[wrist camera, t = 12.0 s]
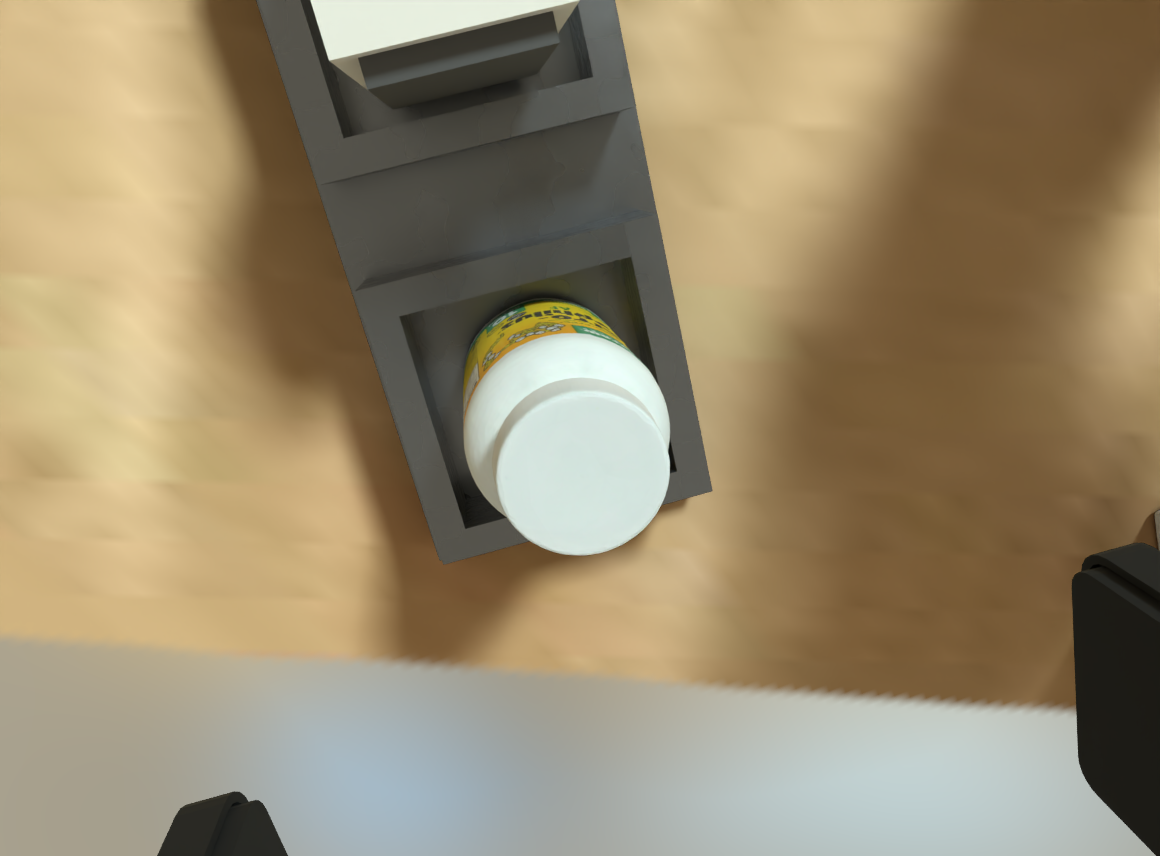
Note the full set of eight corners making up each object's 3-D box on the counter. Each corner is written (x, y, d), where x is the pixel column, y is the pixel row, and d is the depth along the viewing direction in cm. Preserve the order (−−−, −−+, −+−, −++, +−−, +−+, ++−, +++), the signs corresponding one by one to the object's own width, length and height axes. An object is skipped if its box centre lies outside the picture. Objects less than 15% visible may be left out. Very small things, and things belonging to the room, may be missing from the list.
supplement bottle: (455, 443, 28) (449, 576, 19) (472, 284, 26) (473, 345, 17) (611, 457, 29) (677, 592, 20) (636, 305, 27) (719, 374, 18)
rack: (208, -176, 23) (157, -243, 19) (553, -254, 24) (569, -334, 20) (441, 542, 30) (437, 595, 27) (700, 471, 31) (732, 514, 27)
